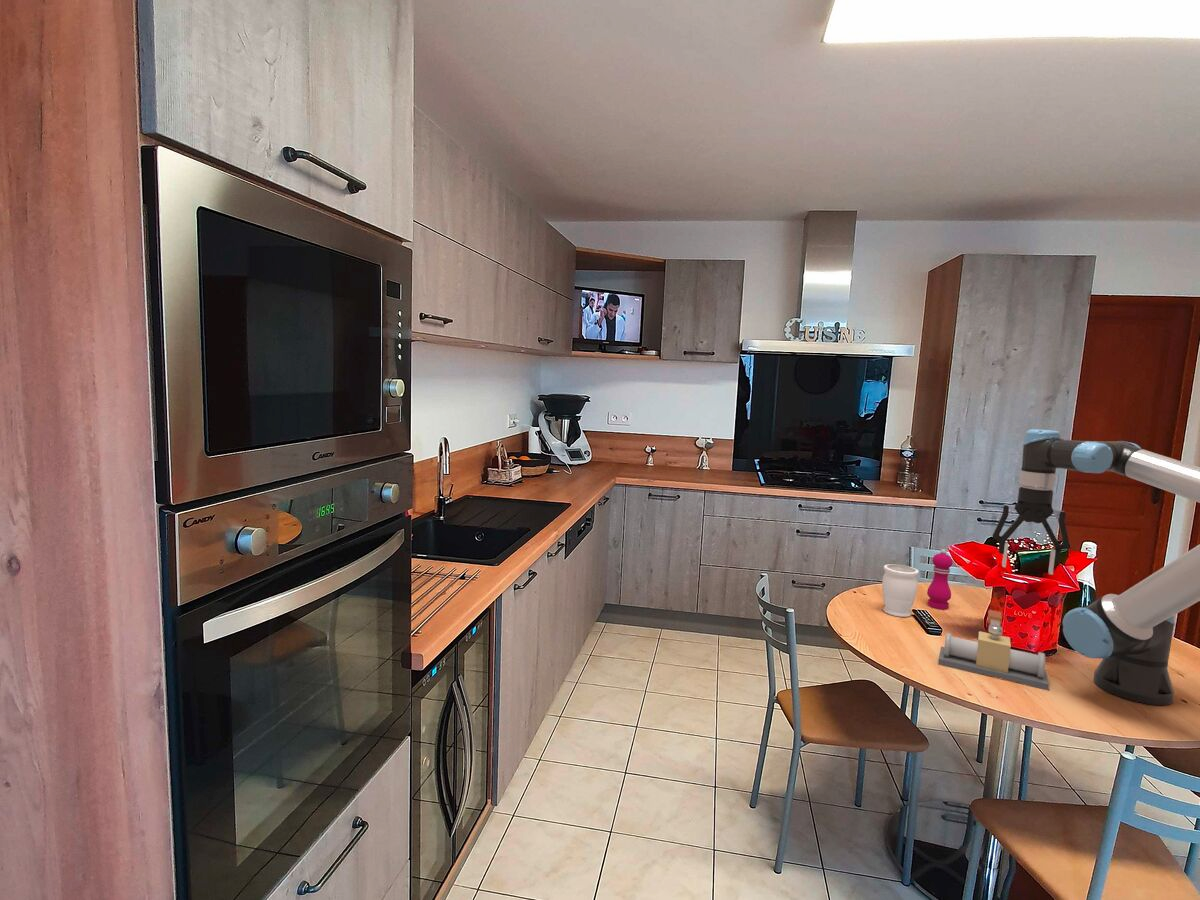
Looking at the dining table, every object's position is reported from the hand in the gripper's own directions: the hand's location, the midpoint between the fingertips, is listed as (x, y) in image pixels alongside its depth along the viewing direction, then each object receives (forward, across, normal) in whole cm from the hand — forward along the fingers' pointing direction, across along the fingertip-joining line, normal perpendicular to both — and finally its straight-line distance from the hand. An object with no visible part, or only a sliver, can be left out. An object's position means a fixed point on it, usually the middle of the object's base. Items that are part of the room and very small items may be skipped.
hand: (1026, 569), depth 168 cm
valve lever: (+16, +6, +5) cm, 18 cm away
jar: (+26, +32, -21) cm, 46 cm away
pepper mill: (+26, +21, -37) cm, 50 cm away
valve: (+26, +6, +11) cm, 29 cm away
